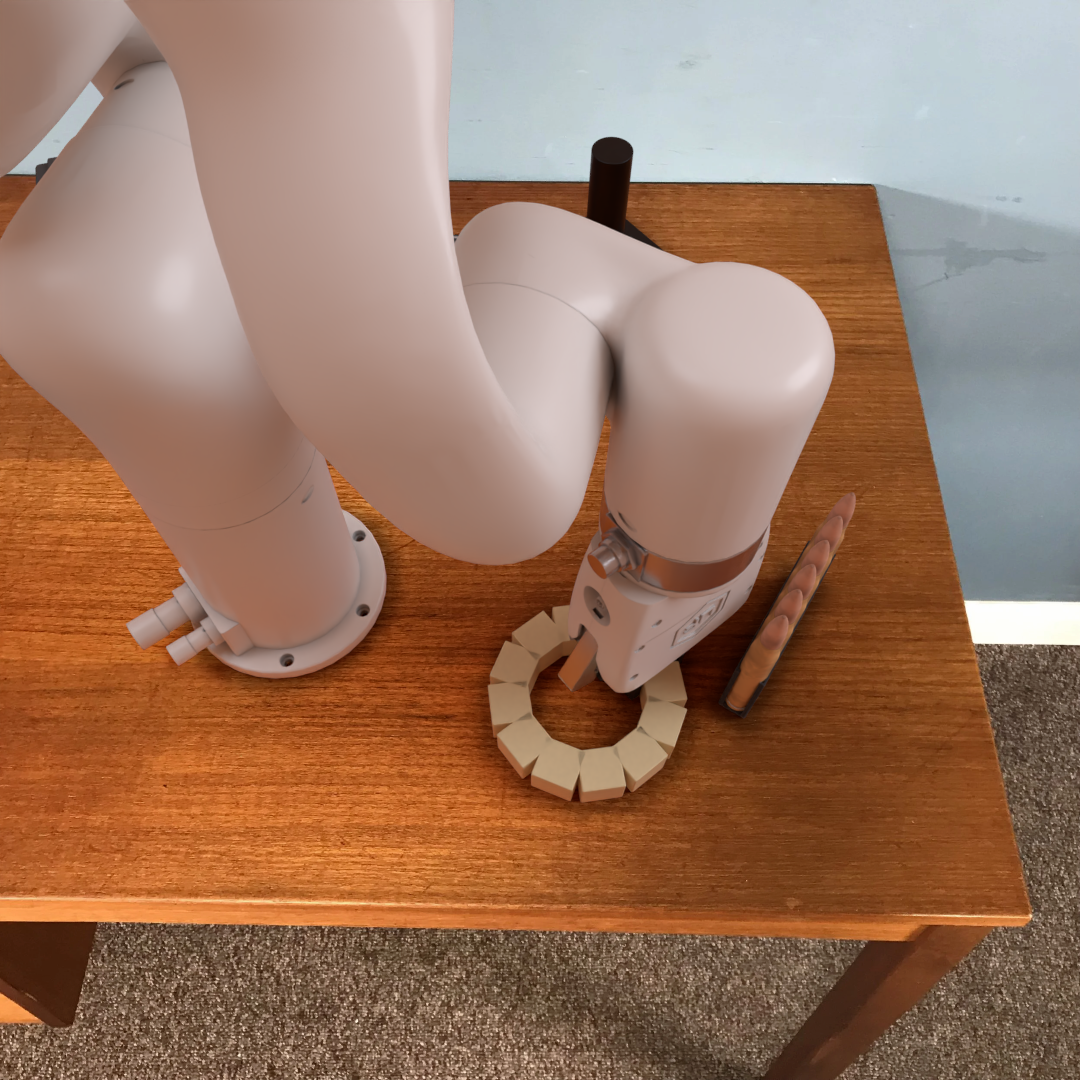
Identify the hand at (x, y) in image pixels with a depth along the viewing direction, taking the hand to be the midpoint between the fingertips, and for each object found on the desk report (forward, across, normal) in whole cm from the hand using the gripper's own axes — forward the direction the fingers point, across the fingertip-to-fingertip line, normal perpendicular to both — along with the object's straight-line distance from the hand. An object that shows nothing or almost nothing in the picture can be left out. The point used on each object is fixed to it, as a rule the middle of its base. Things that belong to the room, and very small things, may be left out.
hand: (639, 663), depth 58 cm
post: (0, +20, +28) cm, 35 cm away
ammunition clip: (0, +7, -4) cm, 8 cm away
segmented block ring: (0, -4, 0) cm, 4 cm away
